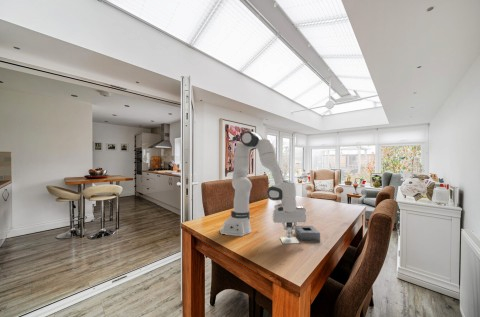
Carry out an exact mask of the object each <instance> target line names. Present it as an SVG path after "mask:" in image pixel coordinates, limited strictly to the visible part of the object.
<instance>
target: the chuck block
mask: <svg viewBox="0 0 480 317" xmlns="http://www.w3.org/2000/svg"><path fill="white" fill-rule="evenodd" d="M294 234H295V235H296V236H297V238H298V239H299V242H320V241H321V232H320V231H319V230H318V229H316V227H314V225H296V226H295V230H294Z"/></svg>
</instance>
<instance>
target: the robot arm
mask: <svg viewBox="0 0 480 317" xmlns="http://www.w3.org/2000/svg"><path fill="white" fill-rule="evenodd" d="M240 141H241V142H238V143H236V145H235V148H234V154H233V155H234V156H233V157H234V161H233V163H234V164H233V172H232V177H231V178H232V180H231V185H232V188H233V189H234V198H233V209H231V210H230V216H229V217H228V218H226V219H225V220H224V222H223V225H222V227H220V229H219V234H220V233H221V234H220V235H222V234H225V236H235V237H243V236H245V235H248V234H250V233H251V232H252V226H251V222H250V218H251V217H250V216H251V212H250V195H251V191H252V188H253V184H252V181H251V180H250V179H249V178H248V175H249V174H248V172H249V170H250V154H251V153H250V152H251V150H252V151H254V150H256V149H257V151H258V157H259V161H260V163H261V166H263V167H264V168H266V169H268V170H269V171H270V172H271V174H272V177H273V181H274V185H271V186H269V187H268V188H267V189H266V195H267V197H268V199H270V201H281V202H280V203H279V204H275V205H274V206H273V207H274V210H273V211H272V221H273V222H274V223H278V224H279V223H281V224H282V226H283V230H287V227H286V225H285V224H286V223H292V231H293V230H294V231H295V226H298V225H297V224H298V223H306V222H307V216H306V215H307V214H306V213H307V210H306V209H307V208H306V207H304V206H297V201H296V197H297V191H296V190H297V189H296V184H295V183H294V182H293V181H290V180H284V177H283V174H282V171H281V167H280V164H279V162H278V158H277V153H276V150H275V147H274V144H273V141H272V139H271V138H267V137H264V138H263V136H262V135H260V134H259V133H257V132H254V131H252V130H247V131H244V132H243V133H242V134H241V137H240Z"/></svg>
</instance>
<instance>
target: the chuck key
mask: <svg viewBox="0 0 480 317" xmlns="http://www.w3.org/2000/svg"><path fill="white" fill-rule="evenodd" d="M285 224H286V225H285V226H286V227H287V230H286V232H285V233H286V236H285V237H287V238H292V237H293V229H292V226H293V223H285Z"/></svg>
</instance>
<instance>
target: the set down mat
mask: <svg viewBox="0 0 480 317" xmlns="http://www.w3.org/2000/svg"><path fill="white" fill-rule="evenodd" d="M279 239H280V241H281V243H282V244H284V245H287V244H291V245H295V244H296V245H297V244H298V245H300V240H298V239H297V237H296V236H292V238H287V237H286V236H280V237H279Z"/></svg>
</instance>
